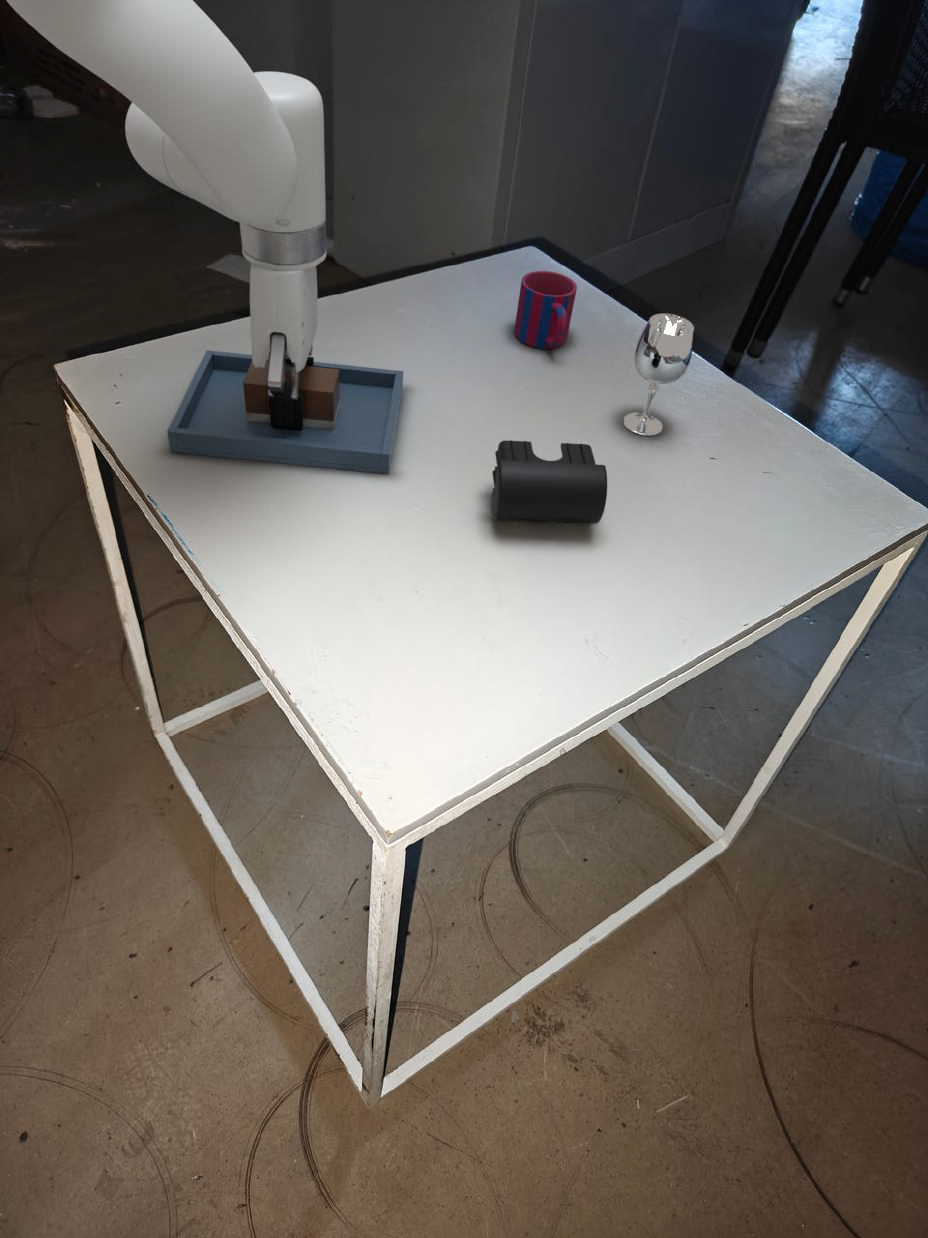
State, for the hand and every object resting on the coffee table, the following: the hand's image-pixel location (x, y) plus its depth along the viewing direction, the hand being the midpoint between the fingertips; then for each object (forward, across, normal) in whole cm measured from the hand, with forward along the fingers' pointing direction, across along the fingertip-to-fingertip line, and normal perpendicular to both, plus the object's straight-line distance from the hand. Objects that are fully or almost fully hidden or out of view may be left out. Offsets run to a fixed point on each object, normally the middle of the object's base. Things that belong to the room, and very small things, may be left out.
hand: (293, 407), depth 90 cm
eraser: (+1, 0, 0) cm, 1 cm away
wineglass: (+2, -6, +38) cm, 39 cm away
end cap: (+2, +12, +26) cm, 29 cm away
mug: (+2, -22, +27) cm, 35 cm away
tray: (+1, 0, 0) cm, 1 cm away
